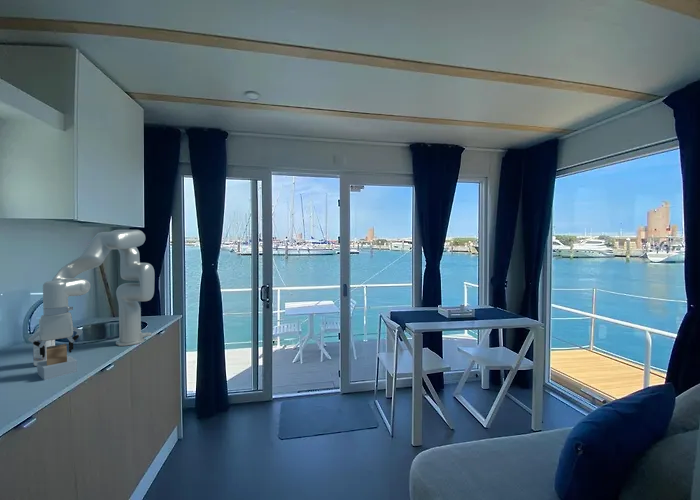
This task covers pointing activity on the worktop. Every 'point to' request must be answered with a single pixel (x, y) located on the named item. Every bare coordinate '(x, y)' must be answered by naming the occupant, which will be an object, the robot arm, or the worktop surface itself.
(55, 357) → the walnut cube
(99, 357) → the worktop surface
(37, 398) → the worktop surface
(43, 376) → the base block
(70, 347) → the robot arm
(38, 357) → the bath foam
